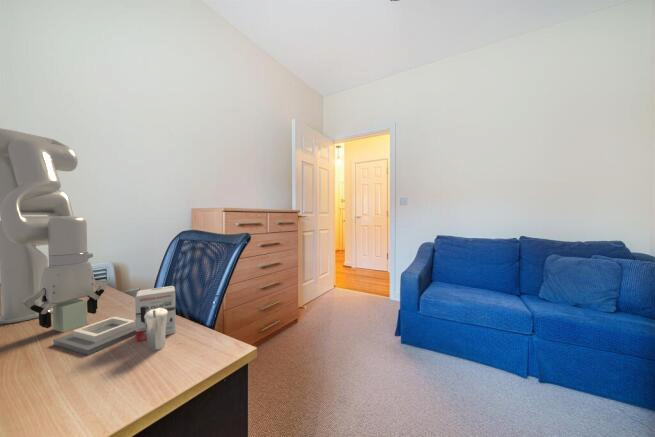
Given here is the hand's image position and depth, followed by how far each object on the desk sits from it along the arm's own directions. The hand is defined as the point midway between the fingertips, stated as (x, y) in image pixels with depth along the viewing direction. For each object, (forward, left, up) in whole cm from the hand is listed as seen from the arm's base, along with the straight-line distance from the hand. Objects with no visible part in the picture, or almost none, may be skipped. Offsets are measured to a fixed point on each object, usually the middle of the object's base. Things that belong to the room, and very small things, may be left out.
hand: (70, 319), depth 69 cm
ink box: (+28, +5, -2) cm, 28 cm away
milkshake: (+35, 0, -2) cm, 35 cm away
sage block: (0, 0, -2) cm, 2 cm away
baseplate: (+16, 0, -2) cm, 16 cm away
